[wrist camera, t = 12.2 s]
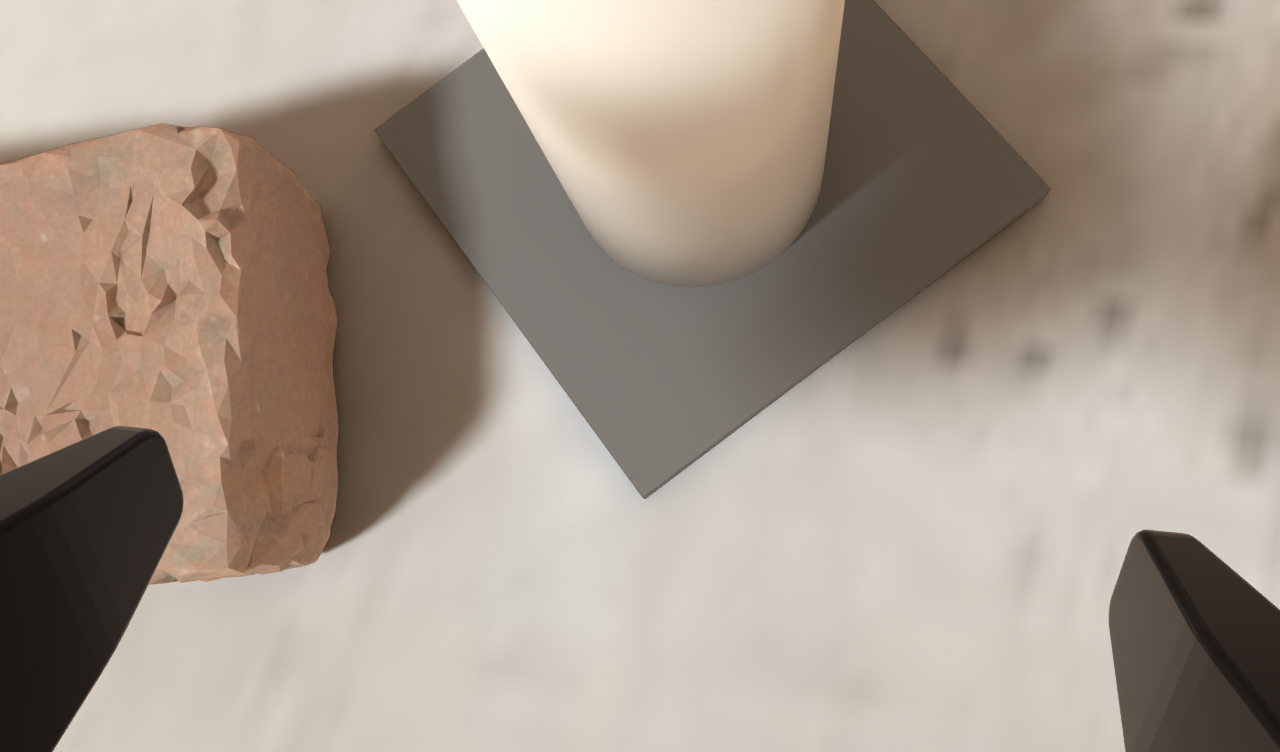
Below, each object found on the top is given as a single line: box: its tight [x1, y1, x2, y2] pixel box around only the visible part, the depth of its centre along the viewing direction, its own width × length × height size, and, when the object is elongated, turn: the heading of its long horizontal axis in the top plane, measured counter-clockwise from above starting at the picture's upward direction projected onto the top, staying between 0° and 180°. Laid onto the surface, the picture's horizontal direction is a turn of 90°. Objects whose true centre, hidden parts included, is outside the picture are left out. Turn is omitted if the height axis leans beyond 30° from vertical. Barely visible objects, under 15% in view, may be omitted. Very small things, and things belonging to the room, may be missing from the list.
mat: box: [375, 0, 1051, 499], centre depth 21 cm, size 10×10×1 cm
